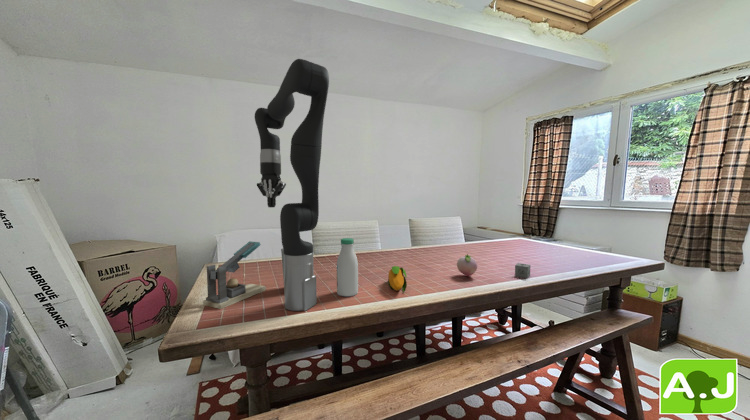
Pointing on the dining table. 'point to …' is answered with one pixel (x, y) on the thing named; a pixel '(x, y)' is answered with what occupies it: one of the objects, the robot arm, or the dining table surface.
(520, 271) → the grey cube
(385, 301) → the dining table surface
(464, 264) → the decorative fruit
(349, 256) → the milk bottle
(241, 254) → the lever
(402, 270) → the corn
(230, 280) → the nut
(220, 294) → the cracker base
